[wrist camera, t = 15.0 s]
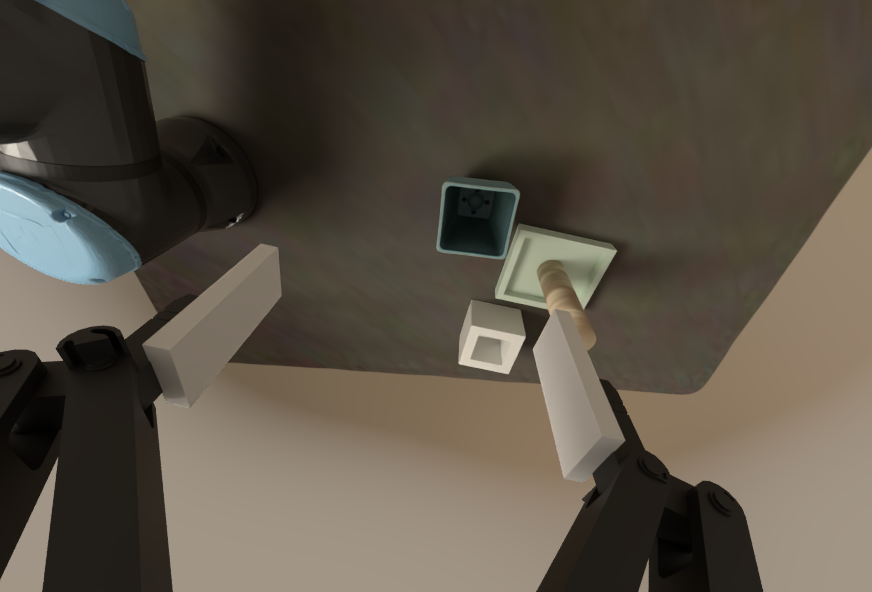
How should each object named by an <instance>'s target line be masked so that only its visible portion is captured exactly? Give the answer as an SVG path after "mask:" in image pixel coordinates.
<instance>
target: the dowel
mask: <svg viewBox="0 0 872 592" xmlns="http://www.w3.org/2000/svg"><path fill="white" fill-rule="evenodd" d="M537 276H538V279H539V282H540V285H541V289H542V292H543V295H544V298H545V301H546V304H547V307H548V310H549V314H550V316H551V314H552V312H553V310H554V308H555V309H559V310H564V311H568V312H570V313H571V316H572V318H573V320H574V323H575V325H576V327H577V330H578V332H579V334H580V337H581V339H582V341H583V344H584V346H585V348H586V351H587V350H589V349H591V348H592V347H593V346H594V344H595V342H596V335H595V333H594V331H593V329H592V327H591V324H590V322H589V320H588V318H587V316H586V314H585V312H584V309H583V307H582V305H581V303H580V301H579V299H578V297H577V295H576V292H575V290H574V288H573V286H572V284H571V282H570V280H569V277H568V275H567V273H566V271H565V269H564V267H563V265H562V263H561V262H559V261H557V260H547V261H545V262H543V263H541V264H540V265H539V267H538V269H537Z"/></svg>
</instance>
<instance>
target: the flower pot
mask: <svg viewBox="0 0 872 592" xmlns="http://www.w3.org/2000/svg"><path fill="white" fill-rule="evenodd" d="M476 189H479V191H476ZM463 198H466V201H463ZM519 199H520V192H519V191H518V190H517V189H516V188H515V187H514V186H513V185H512V184H510V183H508V182H503V181H493V180H484V179H475V178H467V177H459V176H451V177H450V178H449V179H448V180H447V181H446V182H445V183H444V184H443V187H442V197H441V208H440V219H439V229H438V238H437V247H436V248H437V251H439V252H443V253H452V254H462V255H469V256H477V257H484V258H492V259H505V257H506V254H507V250H508V245H509V240H510V235H511V231H512V227H513V222H514V218H515V214H516V210H517V206H518V202H519ZM486 200H488V201H489V203H488V204H486V203H485V201H486ZM473 210H475V211H476V213H472V211H473Z"/></svg>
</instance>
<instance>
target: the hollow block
mask: <svg viewBox="0 0 872 592" xmlns="http://www.w3.org/2000/svg"><path fill="white" fill-rule="evenodd" d="M525 338H526V335H525V330H524V325H523V320H522V315H521V310H520V309H515V308H510V307H506V306H501V305H496V304H491V303H487V302H482V301H477V300H472V299H471V302H470V305H469V309H468V312H467V315H466V318H465V321H464V325H463V328H462V331H461V334H460V343H459V364H461V365H466V366H471V367H476V368H481V369H486V370H491V371H495V372H500V373H505V374H509V372H510V370H511V367H512V365H513V363H514V361H515V359H516V357H517V355H518V352H519V350H520V348H521V346H522V344H523V342H524V340H525Z"/></svg>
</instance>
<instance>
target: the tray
mask: <svg viewBox="0 0 872 592" xmlns="http://www.w3.org/2000/svg"><path fill="white" fill-rule="evenodd" d="M616 252H617V250H616V249H615V248H614V246H613V245H612V244H610V243H606V242H601V241H597V240H592V239H588V238H583V237H579V236H574V235H570V234H565V233H560V232H556V231H551V230H547V229H542V228H538V227H533V226H529V225H524V224H520V223H519V224H518V227H517V230H516V233H515V235H514V238H513V241H512V244H511V247H510V249H509V252H508V255H507V258H506V261H505V263H504V266H503V269H502V272H501V275H500V277H499V280H498V283H497V286H496V289H495V297H496V298H497V299H502V300H506V301H511V302H516V303H520V304H525V305H530V306H534V307H539V308H544V309H548V307H547V304H546V301H545V298H544V295H543V292H542V289H541V285H540V282H539V279H538V276H537V269H538V267H539V265H540V264H541V263H543V262H545V261H547V260H557V261H559V262H561V263H562V265H563V267H564V269H565V271H566V273H567V275H568V277H569V280H570V282H571V284H572V286H573V288H574V290H575V292H576V295H577V297H578V299H579V301H580V303H581V305H582V307H583V309H584V308H585V306H586V305H587V303H588V301H589V299H590V298H591V296H592V294H593V292H594V290H595V289H596V287H597V285H598V283H599V282H600V280H601V278H602V276H603V275H604V273H605V271H606V269H607V268H608V266H609V264H610V262H611V261H612V259H613V257H614V255H615V254H616Z"/></svg>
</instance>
